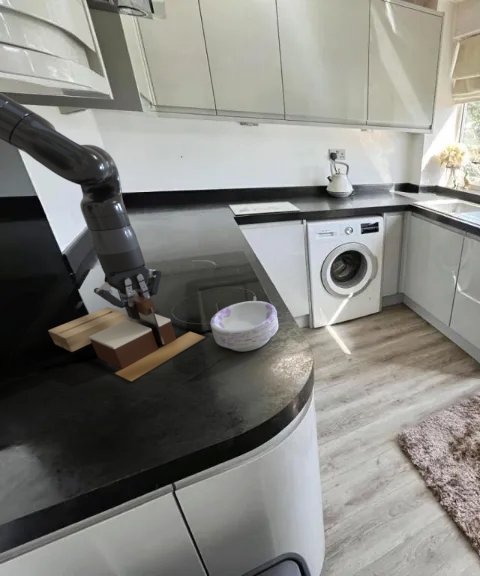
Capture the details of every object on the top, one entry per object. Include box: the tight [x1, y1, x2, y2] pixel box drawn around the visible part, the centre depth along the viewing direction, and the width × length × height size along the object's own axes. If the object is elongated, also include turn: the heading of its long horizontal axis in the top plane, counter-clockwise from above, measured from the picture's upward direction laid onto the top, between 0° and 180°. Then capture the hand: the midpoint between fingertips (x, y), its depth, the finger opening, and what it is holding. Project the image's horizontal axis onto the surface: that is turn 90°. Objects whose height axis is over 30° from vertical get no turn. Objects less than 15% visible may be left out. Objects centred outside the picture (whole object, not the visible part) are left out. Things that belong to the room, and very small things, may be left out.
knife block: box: [47, 306, 128, 353], centre depth 82 cm, size 13×7×5 cm, turn 156°
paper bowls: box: [209, 300, 279, 352], centre depth 81 cm, size 15×15×8 cm
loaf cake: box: [89, 319, 159, 370], centre depth 74 cm, size 9×8×6 cm
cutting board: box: [114, 331, 206, 382], centre depth 79 cm, size 20×18×1 cm
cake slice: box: [154, 313, 177, 346], centre depth 80 cm, size 9×3×6 cm, turn 66°
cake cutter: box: [119, 293, 164, 346], centre depth 77 cm, size 10×2×12 cm, turn 66°
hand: (142, 316), depth 77 cm, fingers closed on cake cutter, 2 cm apart
